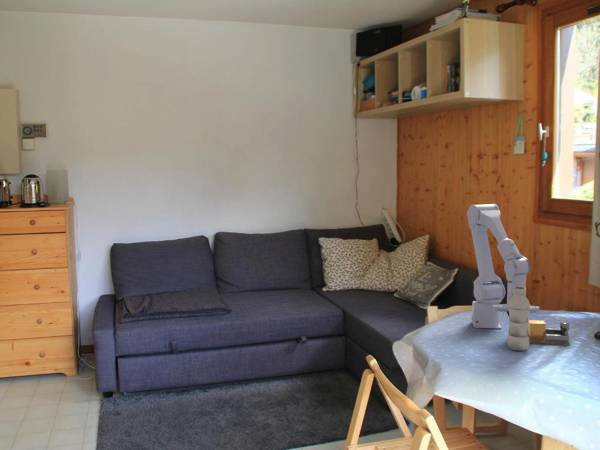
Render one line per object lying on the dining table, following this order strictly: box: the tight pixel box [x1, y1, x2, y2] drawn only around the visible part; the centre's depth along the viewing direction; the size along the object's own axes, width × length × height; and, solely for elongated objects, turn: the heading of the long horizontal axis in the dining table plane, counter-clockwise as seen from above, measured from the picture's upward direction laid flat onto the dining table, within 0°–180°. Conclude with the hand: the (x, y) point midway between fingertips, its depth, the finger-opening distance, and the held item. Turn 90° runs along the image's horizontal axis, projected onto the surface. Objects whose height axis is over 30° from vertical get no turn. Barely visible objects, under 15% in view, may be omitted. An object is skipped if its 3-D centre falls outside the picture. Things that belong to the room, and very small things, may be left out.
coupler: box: [528, 321, 571, 346], centre depth 189 cm, size 13×10×6 cm
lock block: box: [528, 319, 547, 338], centre depth 190 cm, size 5×4×5 cm
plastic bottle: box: [506, 287, 531, 352], centre depth 179 cm, size 6×7×20 cm
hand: (515, 332), depth 191 cm, fingers closed
